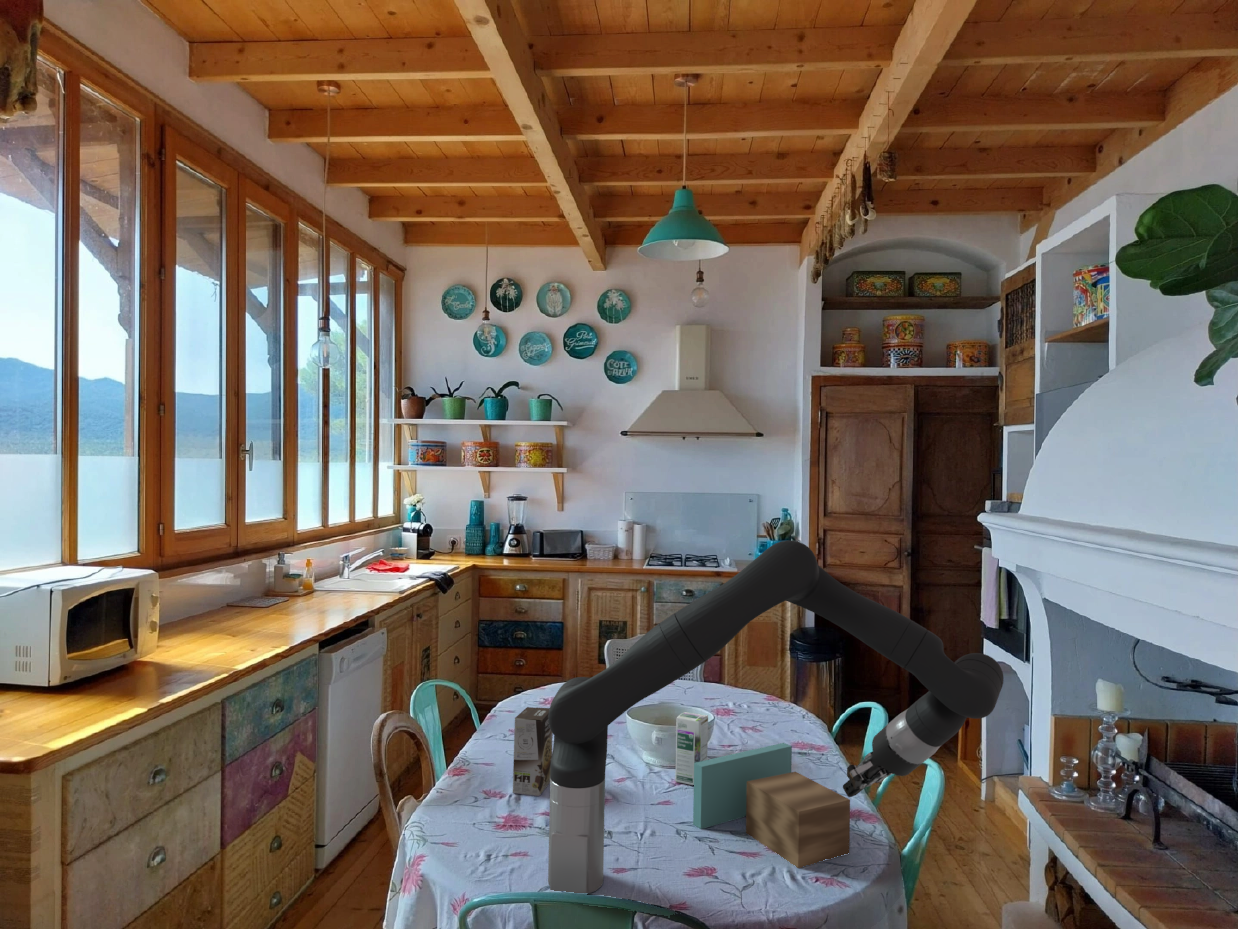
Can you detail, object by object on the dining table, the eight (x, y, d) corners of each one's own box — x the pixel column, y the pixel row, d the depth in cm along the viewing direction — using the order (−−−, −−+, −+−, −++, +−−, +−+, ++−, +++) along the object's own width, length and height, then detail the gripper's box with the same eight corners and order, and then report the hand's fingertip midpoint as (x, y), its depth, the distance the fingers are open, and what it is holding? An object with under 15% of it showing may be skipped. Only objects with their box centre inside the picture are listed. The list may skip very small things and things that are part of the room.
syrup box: (674, 782, 173) (675, 717, 174) (684, 773, 179) (685, 710, 179) (698, 787, 171) (699, 721, 171) (707, 778, 176) (708, 714, 176)
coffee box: (540, 796, 164) (542, 720, 164) (511, 793, 165) (513, 717, 166) (552, 780, 173) (554, 707, 173) (525, 777, 174) (526, 705, 175)
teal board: (790, 803, 163) (791, 746, 163) (700, 829, 150) (701, 766, 150) (782, 799, 165) (783, 742, 165) (693, 824, 152) (694, 762, 152)
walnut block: (849, 855, 141) (850, 799, 142) (798, 869, 136) (798, 811, 136) (794, 822, 155) (795, 771, 155) (745, 834, 149) (746, 781, 149)
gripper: (919, 713, 131) (861, 764, 141) (867, 726, 124) (809, 778, 134) (947, 755, 126) (885, 804, 137) (894, 770, 119) (833, 821, 130)
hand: (848, 791), depth 135 cm, fingers closed
